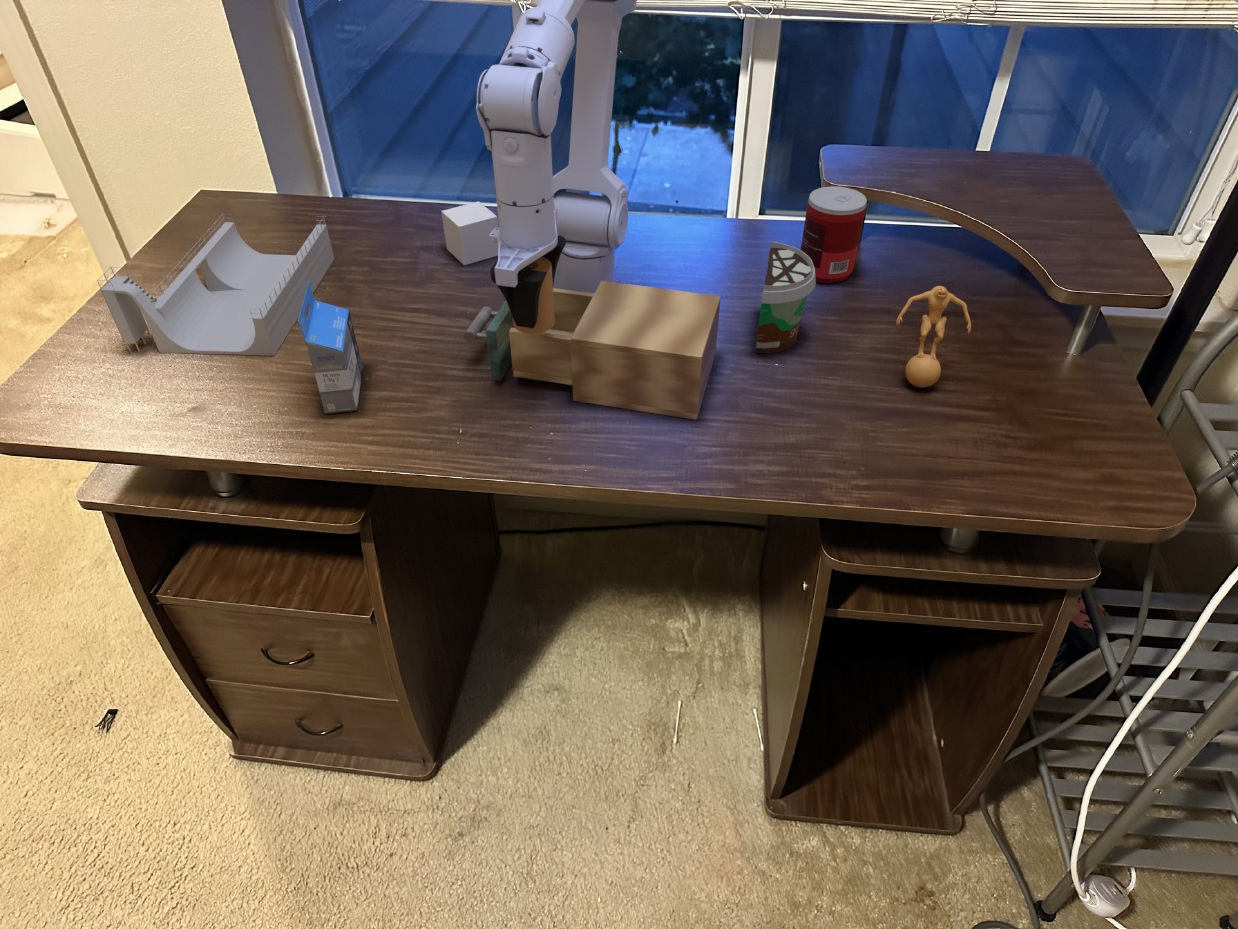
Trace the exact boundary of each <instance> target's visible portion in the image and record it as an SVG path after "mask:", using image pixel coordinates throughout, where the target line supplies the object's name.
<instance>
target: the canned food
mask: <svg viewBox="0 0 1238 929" xmlns="http://www.w3.org/2000/svg"><path fill="white" fill-rule="evenodd" d="M867 199H868V198H867V197H866V195H864V193H862V192H860V191H859V190H856V189H853V188H849V187H845V186H837V185H835V186H834V185H833V186H823V187H819V188H816V189H814V190H812V191H811V192H810V194H809V197H808V199H807V205H806V211H805V218H804V224H803V230H802V237H801V244H800V245H801V246H800V250H801V251H803V252H804V253H806V254H807V255H808V256H809V257H810V259H811V260H812V262H813V266H814V268H815V278H816V283H820V284H837V283H841V282H843V281H846V280H847V279H848V278H849V277H850V276H851V274H852V273H853V270H854V267H855V262H856V257H857V253H858V248H859V243H860V239H861V234H862V229H863V224H864V220H865V215H866V209H867V201H868V200H867Z"/></svg>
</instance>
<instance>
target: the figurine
mask: <svg viewBox="0 0 1238 929" xmlns="http://www.w3.org/2000/svg"><path fill="white" fill-rule="evenodd" d="M924 300H927V304H928V315H927V314H924V315H922V316H921V326H920V337H919V342H920V343H919V347H918V352H917V354H916V355H914V356H912V357H911V358H910V359H909V360H908V361H907V363H906V365H905V369H904V373H905V377H906V379H907V381H908V382H909V384H910V385H912V386H914V387H916V388H923V389H925V388H929V387H931V386H933V385H935V384H936V383H937V381H938V380H939V379H940V377H941V374H942V367H941V363H940V361H939V360H938V359H937V355H936V351H937V345H938V344H939V343H940V342H941V341H942V340H943V338H944V335H945V331H946V330H945V329H946V328H945V326H946V322H947V321H948V319H947V317H946V316H942V314H943V313H944V311H945V309H947V308H948V306H949V303H950V302H951V303H953V304H954V305H957V306H959V307H962V311H963V313H964V319H965V321H966V323H967V326H966V329H967V333H968V334H970V333H971V330H972V322H971V318H970V315H969V312H968V305H967V303H966V302H964V301H963V300H961V299H960V298H958V297H956V295H954V294H953V293H951V292H950V291H948V289H947V288H946V287H945V286H943V285H937V286H933V288H931V290H928V291H924V292H923V293H921V294H917V295H914V296H911V297H909V299H908V300H907V301H906V304H905V305H904V306H903V308H902V309H901V311H900V313H899V315H898V316H897V318H896V321H895V324H896V325H899V324H900V323H903V318H902V317H903V316H904V315H905V313H906V312H907V311H908V309H909V307H910V306H911V305H912V303H913V302H918V301H924ZM932 325H935V327H934V332H935V334H936V337H935V338H933V342H932V346H931V350H930V354H928V353H924V349H925V348H924V347H925V341H927V336H928V334H929V332H930V331H931V330H932Z"/></svg>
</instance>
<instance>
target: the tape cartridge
mask: <svg viewBox="0 0 1238 929" xmlns="http://www.w3.org/2000/svg"><path fill="white" fill-rule="evenodd" d="M307 308H308V313H307ZM306 315H307V316H306ZM297 324H298V327H299V329H300V331H301V334H302V337H303V339H304V343H305V345H306V349H307V353H308V356H309V360H310V363H311V368H312V370H313V374H314V378H315V382H316V386H317V389H318V392H319V395H320V396H319V397H320V400H321V403H322V407H323V412H324V414H325V415H328V414H339V413H348V412H356V411H358V408H359V400H360V394H361V386H362V379H363V378H362V377H363V370H364V367H363V362H362V358H361V354H360V351H359V347H358V342H357V338H356V334H355V328H354V325H353V321H352V317H351V312H350V310H349V309H348V308H344V307H340V306H337V305H334V304H329V303H326V302H323V301H321V300H316V299H315V297H314V293H313V294H312V290H311V287H310V284H309V281H308V283H307V286H306V290H305V294H304V298H303V301H302V305H301V309H300V313H299V317H298V319H297Z"/></svg>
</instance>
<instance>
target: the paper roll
mask: <svg viewBox="0 0 1238 929" xmlns="http://www.w3.org/2000/svg"><path fill="white" fill-rule="evenodd" d="M530 266H531V269H532V270H535V271H543V272H547V274H546V276H545V278H544V281H543V283H542V286H541V290H540V295H539V302H538V316H537V322H536V325H535V327H534V328H527V327H520V326H516V324H515V322H514V319H513V325H514V327H515V328H516V329H517V330H518V331H520V332H523V333H528V334H537V333H542V332H545V331H548V330H549V329H551V328H552V327H553V326H554V323H555V318H554V299H553V280H552V264H551V262H550V261H549V260H548V259H546V258H544V257H540V258H538V259H537V260H535V261H534V262H532V263H531V264H529V267H530Z"/></svg>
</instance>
